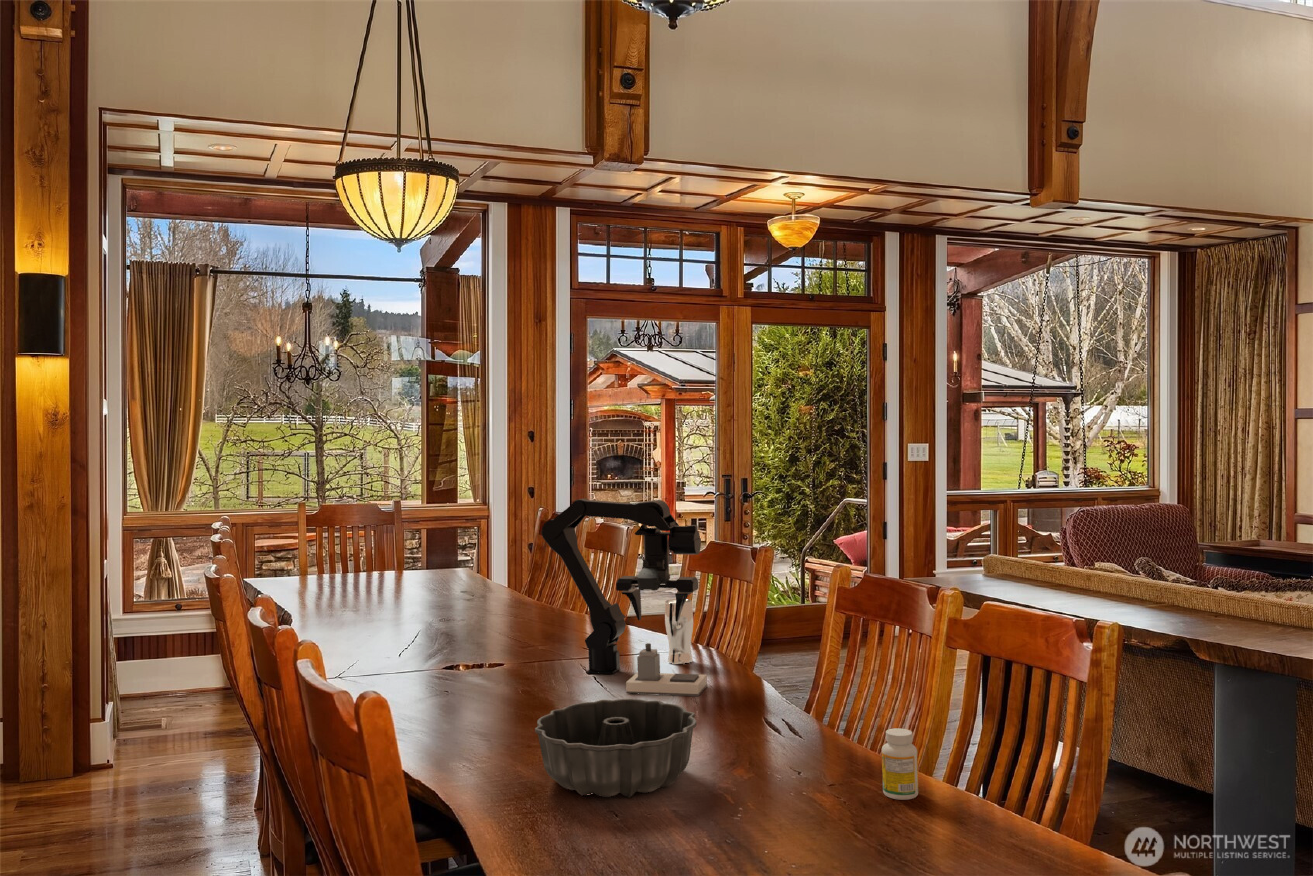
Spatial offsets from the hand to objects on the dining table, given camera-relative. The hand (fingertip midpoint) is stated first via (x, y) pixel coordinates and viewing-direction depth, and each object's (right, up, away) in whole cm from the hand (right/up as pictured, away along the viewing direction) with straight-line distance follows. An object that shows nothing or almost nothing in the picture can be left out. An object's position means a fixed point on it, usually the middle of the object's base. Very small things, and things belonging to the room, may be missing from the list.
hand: (658, 620), depth 241 cm
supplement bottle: (+37, -12, -84) cm, 92 cm away
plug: (-2, -12, -14) cm, 19 cm away
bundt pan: (-7, -13, -73) cm, 74 cm away
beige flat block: (+2, -13, -15) cm, 20 cm away
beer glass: (+6, -12, +12) cm, 18 cm away
